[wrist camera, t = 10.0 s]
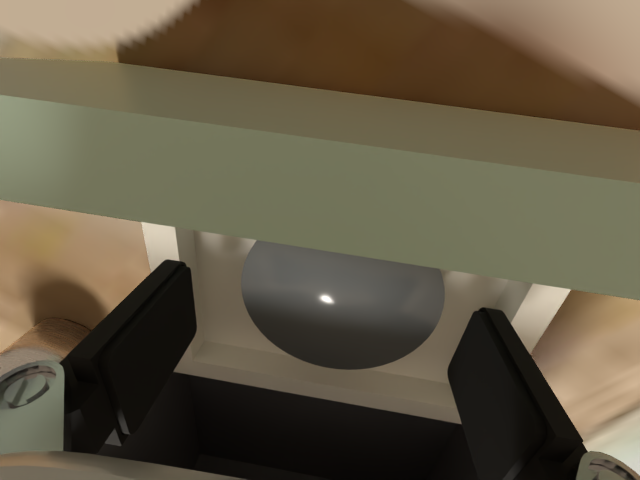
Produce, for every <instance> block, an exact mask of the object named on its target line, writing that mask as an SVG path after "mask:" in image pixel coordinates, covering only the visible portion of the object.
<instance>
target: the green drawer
mask: <svg viewBox="0 0 640 480" xmlns="http://www.w3.org/2000/svg"><path fill="white" fill-rule="evenodd" d="M0 200H5V201H11V202H17V203H24V204H30V205H37V206H43V207H49V208H56V209H62V210H68V211H75V212H81V213H87V214H94V215H100V216H107V217H113V218H119V219H126V220H132V221H138V222H141V223H142V228H143V233H144V239H145V244H146V249H147V254H148V260H149V265H150V270H151V273H152V272H153V271H154V270H155V269H156V268H157V267H158V266H159V265H160V264H161V263H162V262H163V261H164V260H166V259H169V260H175V261H182V262H185V264H186V266H187V267H190V269H191V276H192V285H193V294H194V303H195V312H196V322H197V331H196V334H195V337H194V338H193V340H192V342H191V343H190V345H189V347H188V348H187V350H186V351H185V353H184V355H183V356H182V358H181V360H180V361H179V363H178V365H177V366H176V368H175V369H174V371H173V372H178V373H183V374H189V375H194V376H200V377H205V378H211V379H216V380H222V381H227V382H233V383H238V384H244V385H249V386H255V387H260V388H266V389H271V390H277V391H282V392H288V393H293V394H299V395H304V396H310V397H315V398H321V399H326V400H332V401H337V402H343V403H348V404H354V405H359V406H365V407H370V408H376V409H381V410H387V411H392V412H398V413H403V414H409V415H414V416H420V417H425V418H431V419H436V420H442V421H447V422H453V423H458V424H462V423H461V420H460V416H459V413H458V410H457V406H456V403H455V400H454V397H453V393H452V390H451V387H450V383H449V380H448V375H447V370H448V366H449V364H450V362H451V359H452V357H453V355H454V353H455V351H456V349H457V346H458V344H459V342H460V340H461V338H462V335H463V333H464V331H465V329H466V327H467V324H468V322H469V320H470V318H471V316H472V314H473V312H474V311H478V310H479V309H480V308H482V307H485V308H491V309H498V310H501V311H503V312H504V313H505V315H506V317H507V318H508V320H509V322H510V323H511V325H512V326H513V328H514V330H515V331H516V333H517V334H518V336H519V338H520V339H521V341H522V343H523V344H524V346H525V347H526V349H527V351H528V352H529V354H530V353H531V352H532V350H533V349H534V347H535V345H536V344H537V342H538V341H539V339H540V338H541V336H542V335H543V333H544V331H545V330H546V328H547V327H548V325H549V324H550V322H551V320H552V319H553V317H554V316H555V314H556V313H557V311H558V309H559V308H560V306H561V305H562V303H563V302H564V300H565V298H566V297H567V295H568V294H569V292H570V291H571V290H578V291H584V292H590V293H597V294H603V295H609V296H616V297H622V298H629V299H635V300H640V131H639V130H631V129H624V128H616V127H608V126H601V125H593V124H585V123H578V122H570V121H562V120H554V119H547V118H539V117H531V116H524V115H516V114H508V113H501V112H493V111H485V110H478V109H470V108H462V107H455V106H447V105H439V104H431V103H424V102H416V101H408V100H401V99H393V98H385V97H378V96H370V95H362V94H355V93H347V92H339V91H332V90H324V89H316V88H308V87H301V86H293V85H285V84H278V83H270V82H262V81H255V80H247V79H239V78H232V77H224V76H216V75H209V74H201V73H193V72H186V71H178V70H170V69H162V68H155V67H147V66H139V65H132V64H124V63H116V62H105V61H79V60H53V59H26V58H0ZM256 240H259V241H266V242H272V243H278V244H285V245H291V246H298V247H304V248H310V249H317V250H323V251H329V252H336V253H342V254H348V255H355V256H361V257H368V258H374V259H380V260H387V261H393V262H399V263H406V264H412V265H418V266H425V267H431V268H438V269H440V271H441V274H442V277H443V282H444V287H445V301H444V308H443V311H442V314H441V318H440V320H439V322H438V324H437V326H436V328H435V329H434V331H433V332H432V333H431V335H430V336H429V337H428V339H427V340H426V341H425V342H424V343H423V344H422V345H421V346H419V347H418V348H417V349H415V350H414V351H413V352H411V353H410V354H408V355H406V356H405V357H403V358H401V359H398V360H396V361H394V362H391V363H388V364H385V365H382V366H378V367H374V368H367V369H358V370H343V369H333V368H326V367H322V366H317V365H314V364H311V363H308V362H305V361H302V360H300V359H298V358H295V357H293V356H291V355H289V354H288V353H286V352H284V351H283V350H281V349H280V348H278V347H277V346H275V345H274V344H273V343H272V342H271V341H269V340H268V339H267V338H266V337H265V336H264V335H263V334H262V333H261V332H260V331H259V329H258V328H257V327H256V325H255V324H254V323H253V321H252V319H251V317H250V316H249V314H248V312H247V309H246V307H245V304H244V301H243V296H242V290H241V276H242V270H243V266H244V262H245V260H246V258H247V255H248V253H249V251H250V250H251V248H252V247H253V245H254V243H255V242H256Z"/></svg>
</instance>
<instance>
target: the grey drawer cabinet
mask: <svg viewBox="0 0 640 480" xmlns="http://www.w3.org/2000/svg"><path fill="white" fill-rule="evenodd" d="M96 454H97V455H101V456H108V457H115V458H121V459H128V460H134V461H141V462H148V463H154V464H160V465H166V466H172V467H177V468H183V469H189V470H195V471H201V472H207V473H212V474H218V475H224V476H230V477H236V478H242V479H247V480H479V479H478V476H477V473H476V469H475V466H474V463H473V459H472V456H471V453H470V450H469V446H468V443H467V440H466V436H465V433H464V430H463V426H462V424H458V423H453V422H447V421H442V420H436V419H431V418H425V417H420V416H414V415H409V414H403V413H398V412H392V411H387V410H381V409H376V408H370V407H365V406H359V405H354V404H348V403H343V402H337V401H332V400H326V399H321V398H315V397H310V396H304V395H299V394H293V393H288V392H282V391H277V390H271V389H266V388H260V387H255V386H249V385H244V384H238V383H233V382H227V381H222V380H216V379H211V378H205V377H200V376H194V375H189V374H183V373H178V372H173V373H172V374H171V376H170V378H169V379H168V381H167V382H166V384H165V386H164V387H163V389H162V391H161V392H160V394H159V396H158V397H157V399H156V400H155V402H154V404H153V405H152V407H151V409H150V410H149V412H148V413H147V415H146V417H145V418H144V420H143V422H142V423H141V425H140V427H139V428H138V430H137V431H136V432H135V433H134V434H132V435H130V434H129V435H128V437H127V438H126V440H125V442H124V443H123V445H122V446H117V445H111V444H105V443H104V445H103V446H102V448H101V449H100V451H99V452H98V453H96Z"/></svg>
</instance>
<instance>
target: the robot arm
mask: <svg viewBox="0 0 640 480" xmlns="http://www.w3.org/2000/svg"><path fill="white" fill-rule="evenodd" d="M196 331H197V322H196V312H195V303H194V294H193V285H192V276H191V269H190V267H187V266H186V264H185V262H182V261H175V260H169V259H166V260H164V261H163V262H162V263H161V264H160V265H159V266H158V267H157V268H156V269H155V270H154V271H153V272H152V273H151V274H150V275H149V276H148V277H147V278H146V279H144V280H143V281H142V282H141V283H140V284H139V285H138V286H137V287H136V288H135V289H134V290H133V291H132V292H131V293H130V294H129V295H128V296H127V297H126V298H125V299H124V300H123V301H122V302H121V303H120V304H119V305H118V306H117V307H116V308H115V309H114V310H113V311H112V312H111V313H110V314H109V315H108V316H107V317H105V318H104V319H103V320H102V321H101V322H100V323H99V324H98V325H97V326H96V327H95V328H94V329H93V330H92V331H91V332H90V333H89V334H88V335H87V336H86V337H85V338H84V339H83V340H82V341H81V342H80V343H79V344H78V345H77V346H76V347H75V348H74V349H73V350H72V351H71V352H70V353H69V354H68V355H67V356H66V357H65V358H64V359H63V360H62V361H61V362H60V363H58V362H54V361H50V360H40V361H35V362H30V363H27V364H24V365H21V366H19V367H16V368H14V369H12V370H11V371H9V372H7V373H5V374H3V375H2V376H1V377H0V480H247V479H242V478H236V477H230V476H224V475H218V474H212V473H207V472H201V471H195V470H189V469H183V468H177V467H172V466H166V465H160V464H154V463H148V462H141V461H134V460H128V459H121V458H115V457H108V456H101V455H97V454H96V453H98V452H99V451H100V449H101V448H102V446H103V445H104V443H105V444H111V445H117V446H122V445H123V443H124V442H125V440H126V438H127V437H128V435H129V434H130V435H132V434H134V433H135V432H136V431H137V430H138V428H139V427H140V425H141V423H142V422H143V420H144V418H145V417H146V415H147V413H148V412H149V410H150V409H151V407H152V405H153V404H154V402H155V400H156V399H157V397H158V396H159V394H160V392H161V391H162V389H163V387H164V386H165V384H166V382H167V381H168V379H169V378H170V376H171V374H172V373H173V371H174V369H175V368H176V366H177V365H178V363H179V361H180V360H181V358H182V356H183V355H184V353H185V351H186V350H187V348H188V347H189V345H190V343H191V342H192V340H193V338H194V337H195V334H196ZM447 375H448V380H449V383H450V387H451V390H452V393H453V397H454V400H455V403H456V406H457V410H458V413H459V416H460V420H461V423H462V426H463V430H464V433H465V436H466V440H467V443H468V446H469V450H470V453H471V456H472V459H473V463H474V466H475V469H476V473H477V476H478V479H479V480H640V476H639V475H638V474H637V473H636V472H635V471H634V470H632V469H631V468H630V467H628V466H627V465H626V464H624V463H623V462H621V461H619V460H617V459H616V458H614V457H612V456H610V455H607V454H604V453H601V452H594V451H590V452H588V451H587V450H586V448H585V446H584V445H583V443H582V442H583V439H582V438H581V436H580V435H579V433H578V431H577V430H576V428H575V427H574V425H573V423H572V422H571V420H570V418H569V417H568V415H567V414H566V412H565V410H564V409H563V407H562V406H561V404H560V402H559V401H558V399H557V397H556V396H555V394H554V393H553V391H552V389H551V388H550V386H549V385H548V383H547V381H546V380H545V378H544V376H543V375H542V373H541V372H540V370H539V368H538V367H537V365H536V364H535V362H534V360H533V359H532V357H531V355H530V354H529V352H528V351H527V349H526V347H525V346H524V344H523V343H522V341H521V339H520V338H519V336H518V334H517V333H516V331H515V330H514V328H513V326H512V325H511V323H510V322H509V320H508V318H507V317H506V315H505V313H504V312H503V311H501V310H498V309H491V308H485V307H482V308H480V309H479V310H478V311H474V312H473V314H472V316H471V318H470V320H469V322H468V324H467V327H466V329H465V331H464V333H463V335H462V338H461V340H460V342H459V344H458V346H457V349H456V351H455V353H454V355H453V357H452V359H451V362H450V364H449V366H448V370H447Z"/></svg>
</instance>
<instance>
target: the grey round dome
mask: <svg viewBox="0 0 640 480" xmlns="http://www.w3.org/2000/svg"><path fill="white" fill-rule="evenodd" d="M241 290H242V296H243V301H244V304H245V307H246V309H247V312H248V314H249V316H250V317H251V319H252V321H253V323H254V324H255V325H256V327H257V328H258V329H259V331H260V332H261V333H262V334H263V335H264V336H265V337H266V338H267V339H268V340H269V341H271V342H272V343H273V344H274V345H275V346H277V347H278V348H280V349H281V350H283V351H284V352H286V353H288V354H289V355H291V356H293V357H295V358H298V359H300V360H302V361H305V362H308V363H311V364H314V365H317V366H322V367H326V368H333V369H343V370H358V369H367V368H374V367H378V366H382V365H385V364H388V363H391V362H394V361H396V360H398V359H401V358H403V357H405V356H406V355H408V354H410V353H411V352H413V351H414V350H415V349H417V348H418V347H419V346H421V345H422V344H423V343H424V342H425V341H426V340H427V339H428V337H429V336H430V335H431V333H432V332H433V331H434V329H435V328H436V326H437V324H438V322H439V320H440V318H441V314H442V311H443V308H444V301H445V287H444V282H443V277H442V274H441V271H440V269H438V268H431V267H425V266H418V265H412V264H406V263H399V262H393V261H387V260H380V259H374V258H368V257H361V256H355V255H348V254H342V253H336V252H329V251H323V250H317V249H310V248H304V247H298V246H291V245H285V244H278V243H272V242H266V241H259V240H256V242H255V243H254V245H253V247H252V248H251V250H250V251H249V253H248V255H247V258H246V260H245V262H244V266H243V270H242V276H241Z"/></svg>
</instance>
